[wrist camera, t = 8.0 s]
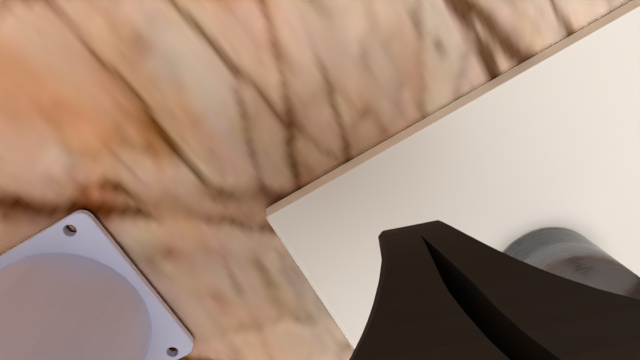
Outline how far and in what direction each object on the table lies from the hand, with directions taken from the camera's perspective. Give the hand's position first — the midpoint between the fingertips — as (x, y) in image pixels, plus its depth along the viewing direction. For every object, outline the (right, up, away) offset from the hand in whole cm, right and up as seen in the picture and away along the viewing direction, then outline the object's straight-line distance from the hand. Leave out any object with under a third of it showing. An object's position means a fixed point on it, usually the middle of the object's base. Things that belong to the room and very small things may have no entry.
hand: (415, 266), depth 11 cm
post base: (+8, -2, +13) cm, 15 cm away
